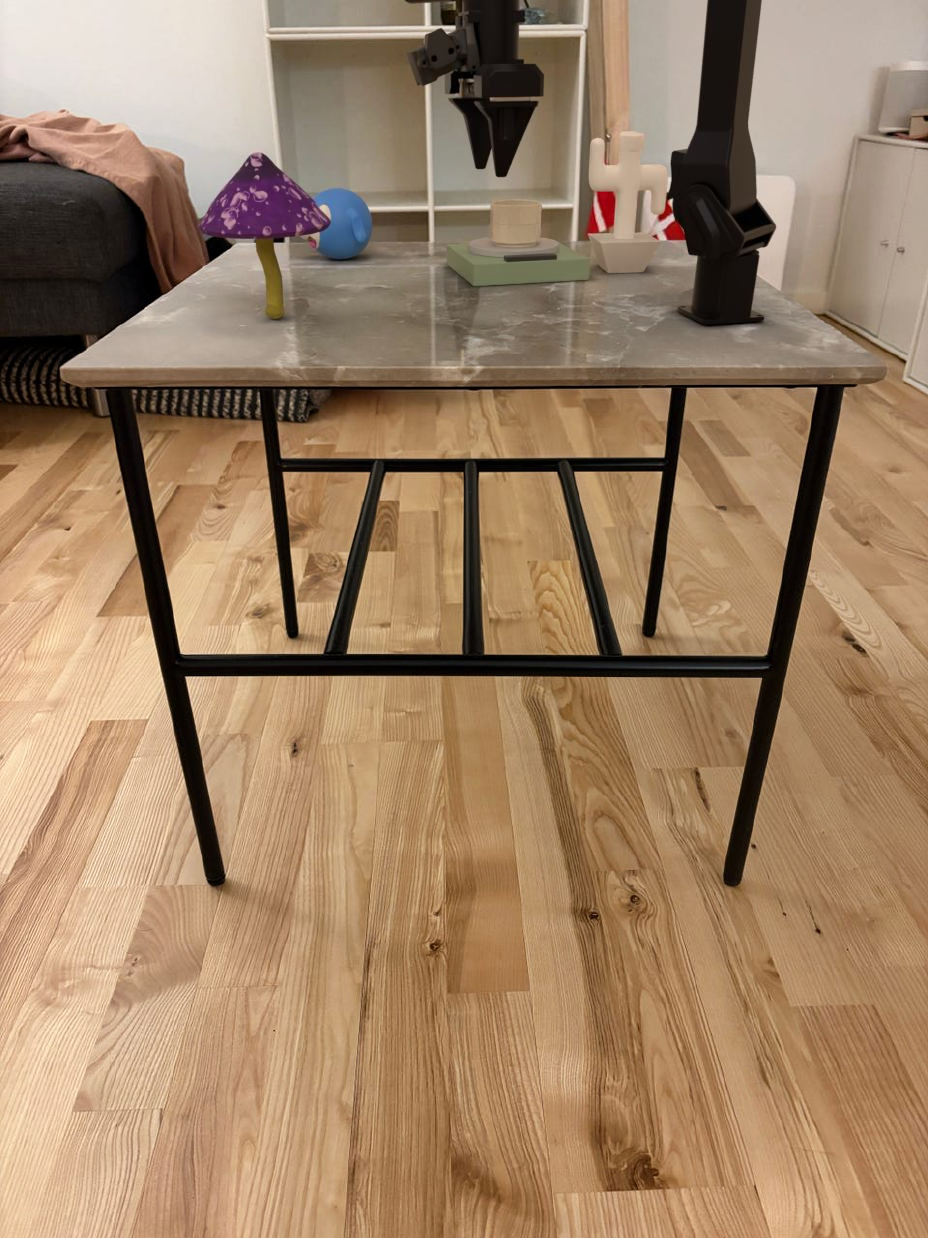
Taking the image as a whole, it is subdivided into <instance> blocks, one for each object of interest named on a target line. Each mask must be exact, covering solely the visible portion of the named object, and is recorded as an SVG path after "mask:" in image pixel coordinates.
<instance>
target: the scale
mask: <svg viewBox="0 0 928 1238" xmlns="http://www.w3.org/2000/svg"><path fill="white" fill-rule="evenodd" d="M446 265H447V266H448V267H449V268H450V269H452V270H453V271H454V272H455V273H457V275H459V276H460V277H462V278H463V279H464V280H465V281H467V282H468V283H469V284H470V285H472V287H488V286H504V285H525V284H541V283H543V284H544V283H559V282H573V281H576V282H577V281H589V280H590V270H591V257H589V256H586V255H584V254H582V253H581V252H578V251H576V250H574V249H572V248H570V247H568V246H566V245H564V244H562V243H560V242H559V241H557V240H555V239H552V238H547V237H541V240H540V241H538V242H537V245H536V246H532V247H525V248H506V247H499V246H496V245H494V242H493V241H491V240H490V236H488V237H480V238H475V239H473V240H470V241H469V243H453V244H452V243H451V244H446Z"/></svg>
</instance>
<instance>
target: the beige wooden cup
mask: <svg viewBox="0 0 928 1238" xmlns="http://www.w3.org/2000/svg"><path fill="white" fill-rule="evenodd" d="M489 215H490V218H489V219H490V220H489V221H490V222H489V224H490V225H489V227H490V228H489V230H490V231H489V237H490V240H491V241H493V242H494V245H496V246H499V247H506V248H525V247H532V246H536V245H537V242H538V241H540V240H541V238H542V219H543V218H542V217H543V202H542V201H540V200H535V199H518V198H517V199H516V198H515V199H499V200H494V201H491V202H490V213H489Z"/></svg>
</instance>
